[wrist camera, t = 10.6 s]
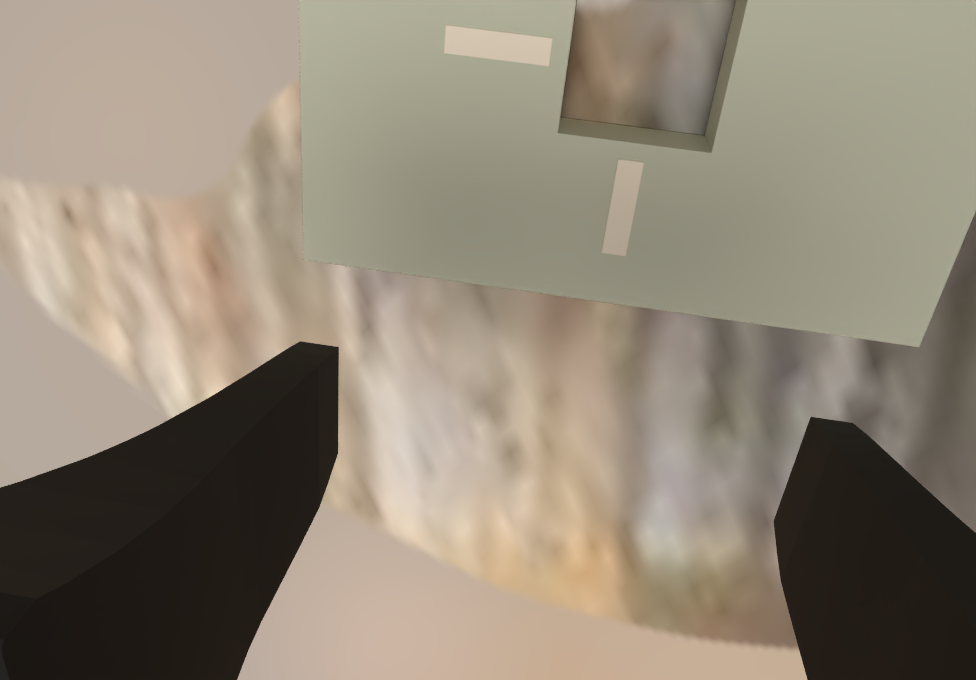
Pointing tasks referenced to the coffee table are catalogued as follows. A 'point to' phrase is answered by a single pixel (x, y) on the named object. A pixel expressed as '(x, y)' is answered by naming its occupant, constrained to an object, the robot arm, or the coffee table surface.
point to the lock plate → (650, 161)
